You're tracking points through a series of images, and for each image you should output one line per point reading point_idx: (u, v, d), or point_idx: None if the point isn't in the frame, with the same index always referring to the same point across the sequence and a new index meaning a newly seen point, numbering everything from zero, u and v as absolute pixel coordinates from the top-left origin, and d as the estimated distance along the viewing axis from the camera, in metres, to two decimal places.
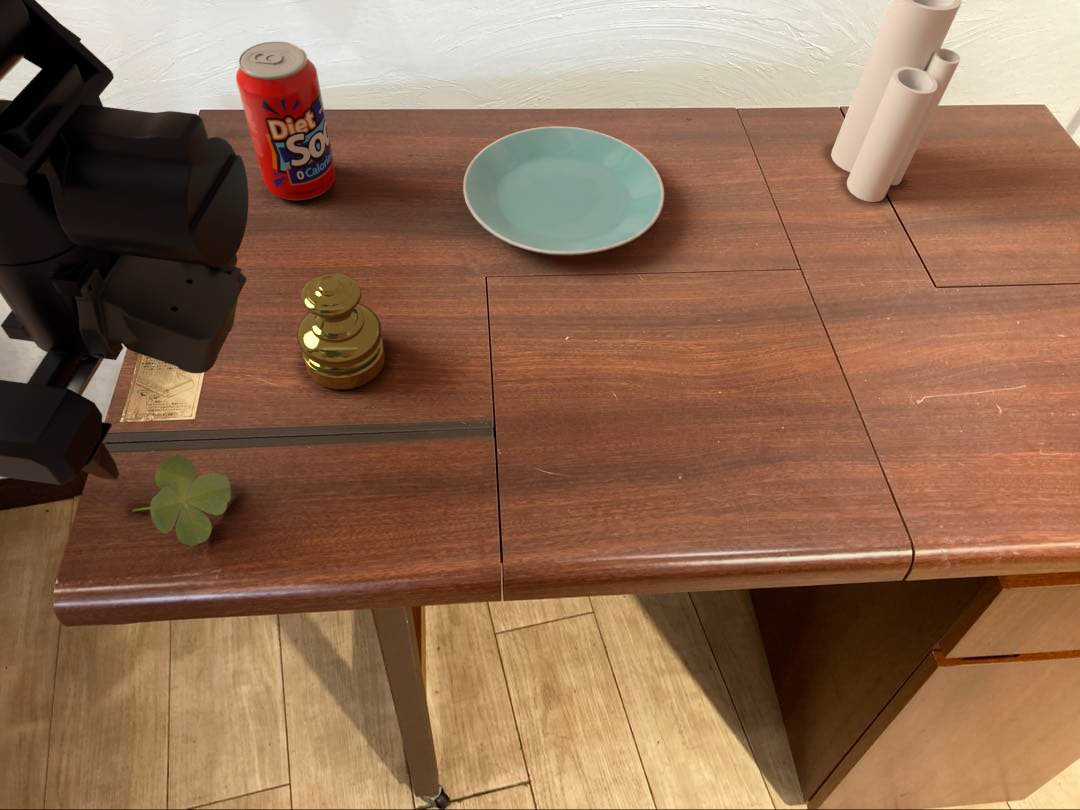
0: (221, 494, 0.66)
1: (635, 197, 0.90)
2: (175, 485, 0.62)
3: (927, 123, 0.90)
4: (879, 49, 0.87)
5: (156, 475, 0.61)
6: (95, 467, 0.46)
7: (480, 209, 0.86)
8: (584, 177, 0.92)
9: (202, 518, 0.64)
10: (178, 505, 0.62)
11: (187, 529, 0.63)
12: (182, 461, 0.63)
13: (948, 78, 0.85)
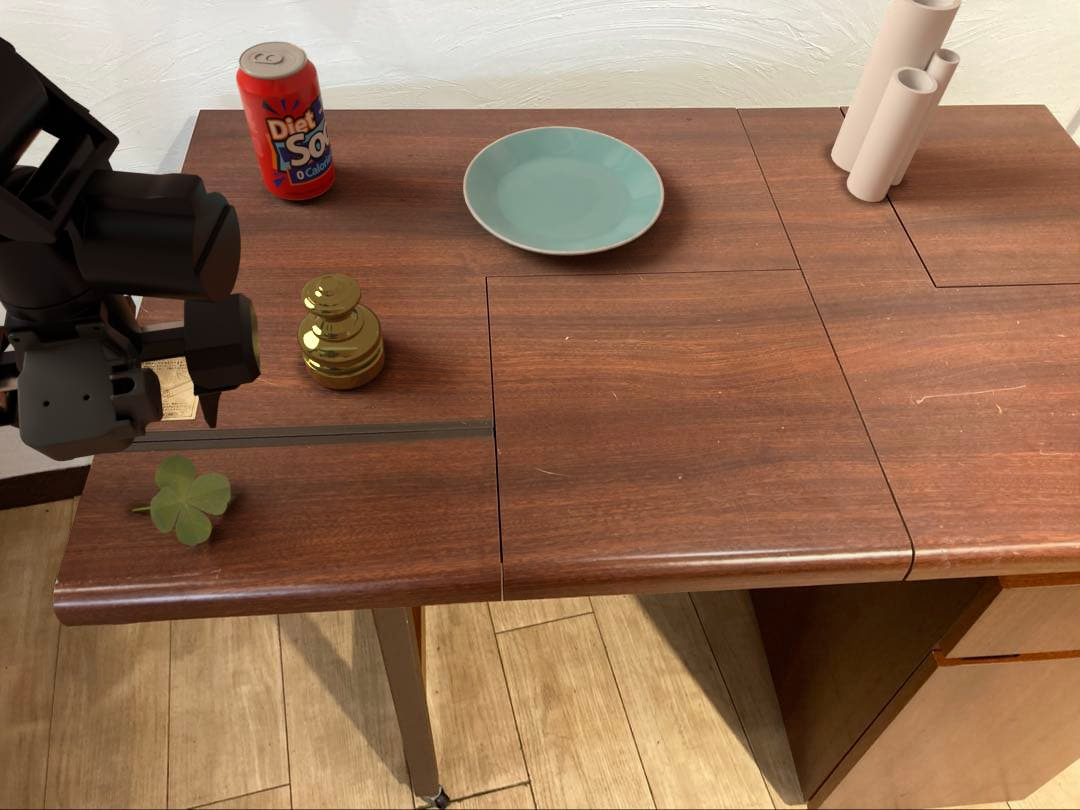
0: (221, 494, 0.66)
1: (635, 197, 0.90)
2: (175, 485, 0.62)
3: (927, 123, 0.90)
4: (879, 49, 0.87)
5: (156, 475, 0.61)
6: None
7: (480, 209, 0.86)
8: (584, 177, 0.92)
9: (202, 518, 0.64)
10: (178, 505, 0.62)
11: (187, 528, 0.63)
12: (182, 461, 0.63)
13: (948, 78, 0.85)
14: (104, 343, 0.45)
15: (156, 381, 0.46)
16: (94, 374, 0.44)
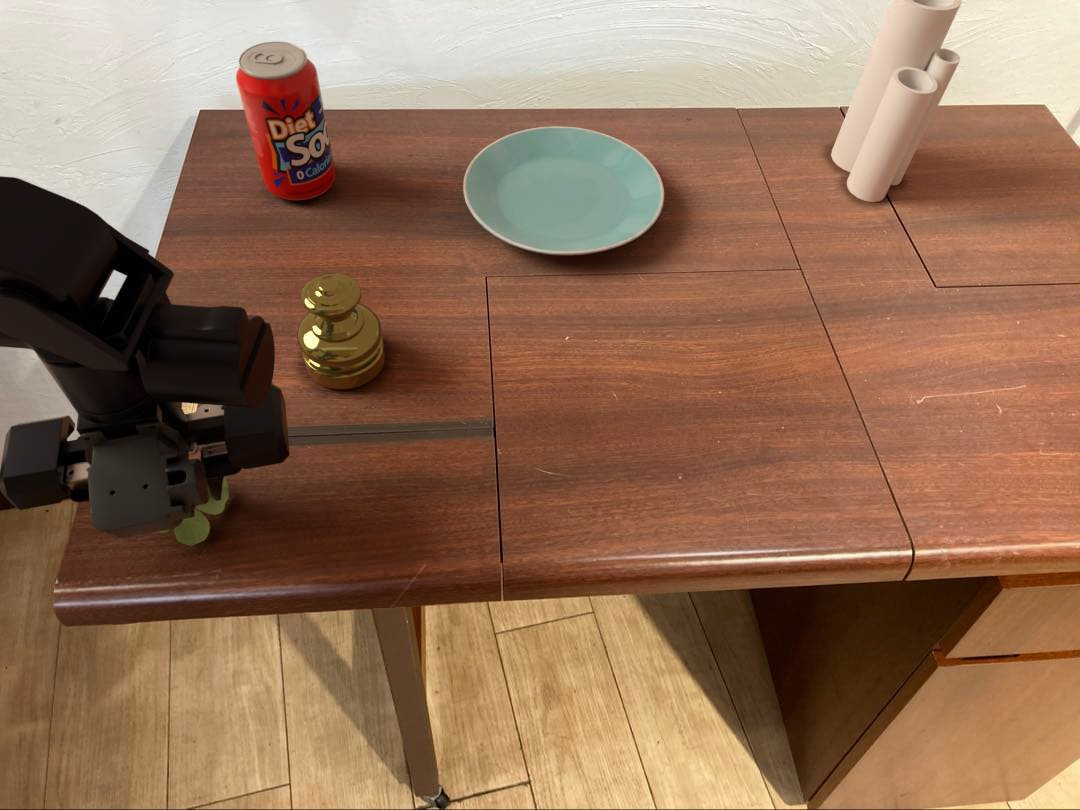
0: None
1: (635, 197, 0.90)
2: None
3: (927, 123, 0.90)
4: (879, 49, 0.87)
5: None
6: None
7: (480, 209, 0.86)
8: (584, 177, 0.92)
9: (200, 517, 0.64)
10: None
11: (186, 528, 0.63)
12: None
13: (948, 78, 0.85)
14: (159, 438, 0.53)
15: (202, 468, 0.54)
16: (151, 466, 0.52)
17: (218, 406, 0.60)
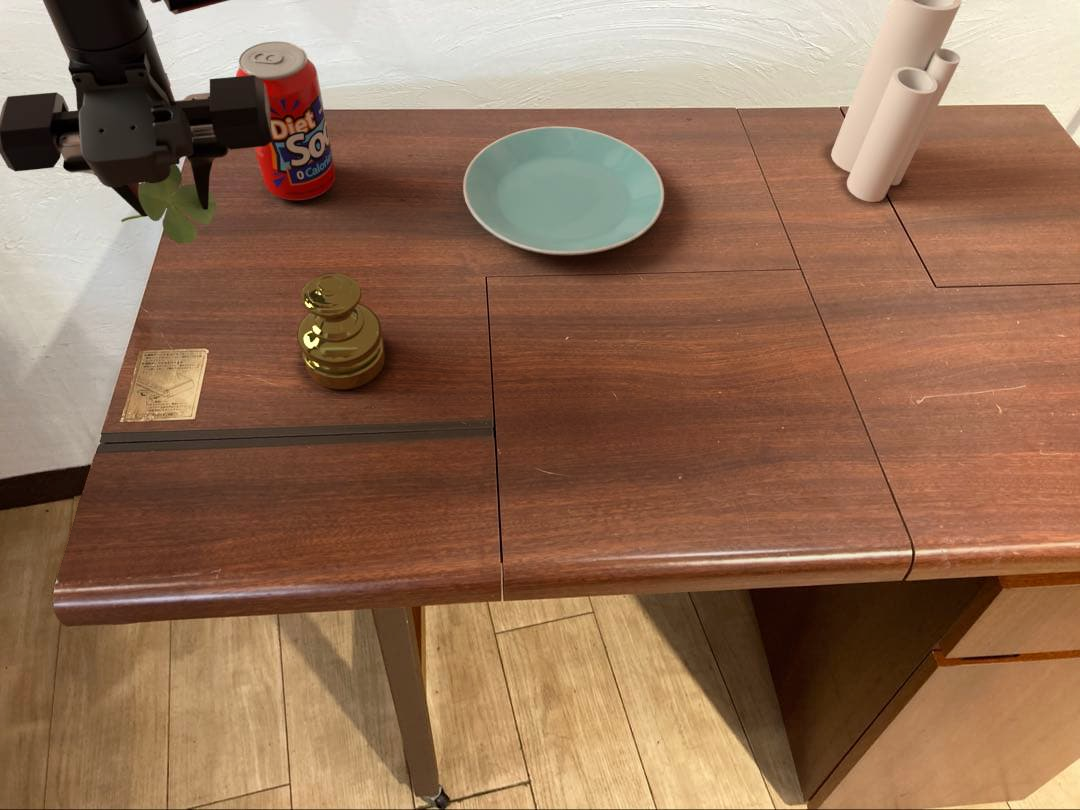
0: None
1: (635, 197, 0.90)
2: (161, 184, 0.65)
3: (927, 123, 0.90)
4: (879, 49, 0.87)
5: None
6: None
7: (480, 209, 0.86)
8: (584, 177, 0.92)
9: (188, 223, 0.67)
10: (165, 203, 0.65)
11: (174, 227, 0.66)
12: None
13: (948, 78, 0.85)
14: (147, 90, 0.56)
15: (188, 125, 0.57)
16: (139, 111, 0.55)
17: (205, 96, 0.63)
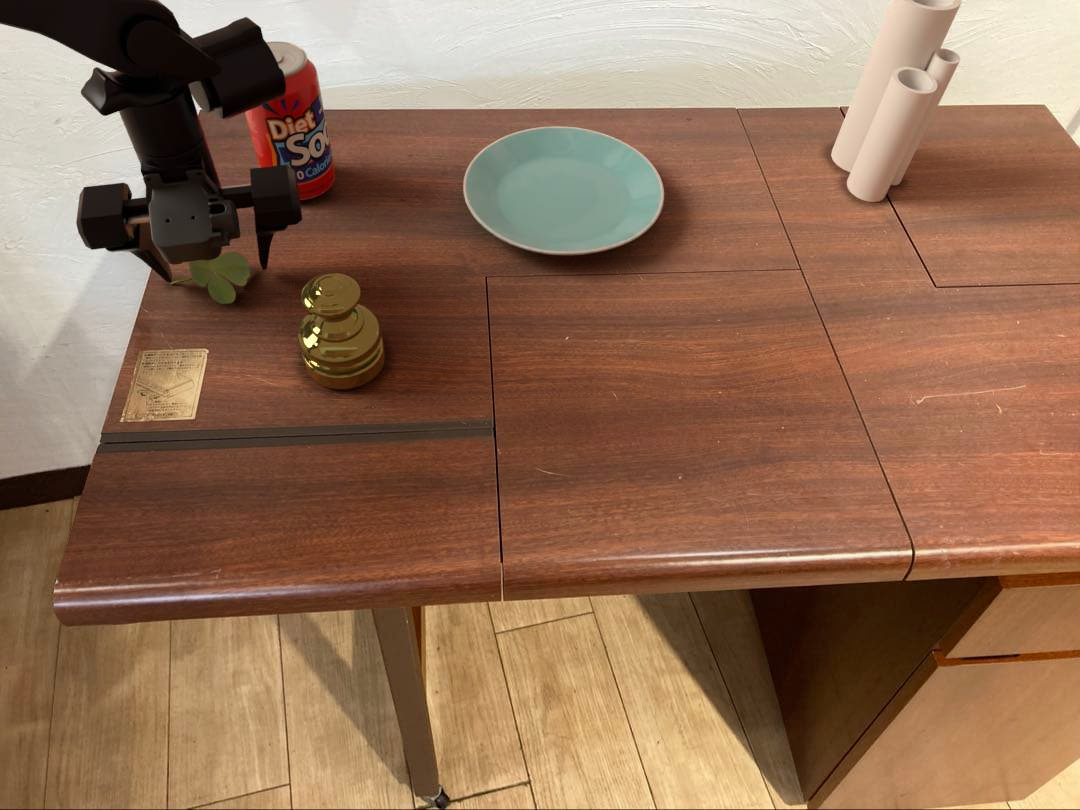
0: (242, 270, 0.81)
1: (635, 197, 0.90)
2: None
3: (927, 123, 0.90)
4: (879, 49, 0.87)
5: None
6: None
7: (480, 209, 0.86)
8: (584, 177, 0.92)
9: (228, 285, 0.80)
10: (209, 270, 0.78)
11: (217, 290, 0.78)
12: None
13: (948, 78, 0.85)
14: (203, 185, 0.68)
15: (236, 212, 0.69)
16: (197, 203, 0.68)
17: None
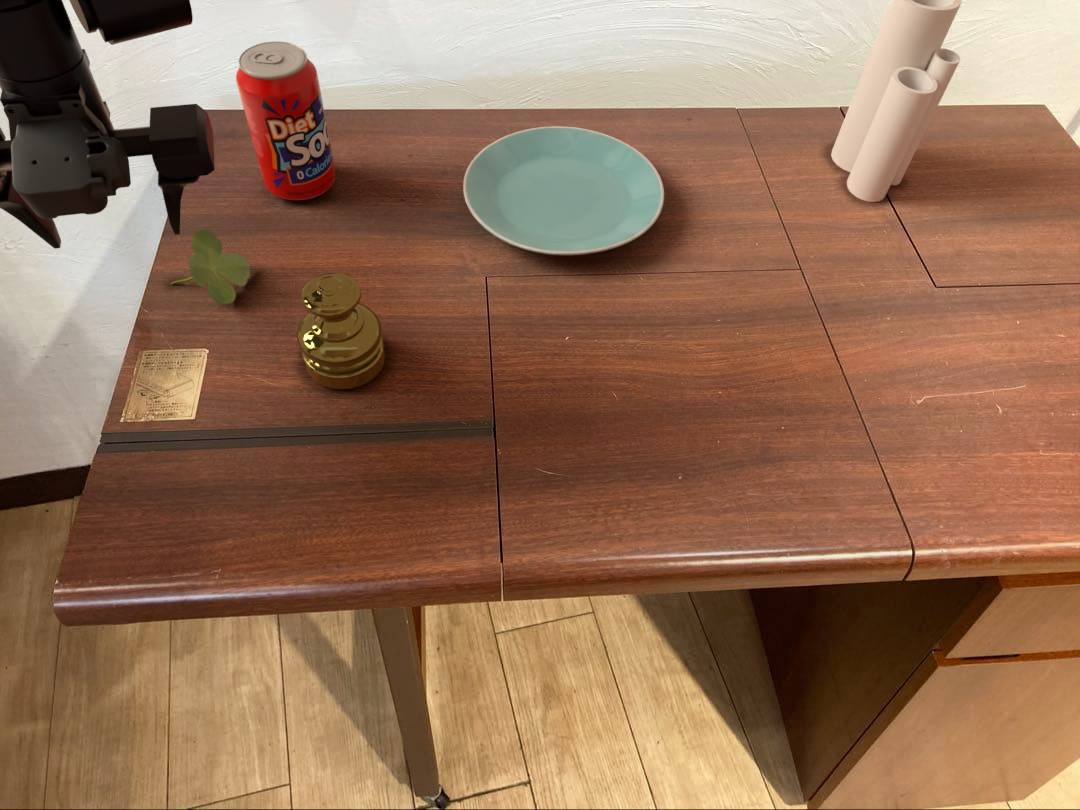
0: (242, 270, 0.81)
1: (635, 197, 0.90)
2: (206, 254, 0.78)
3: (927, 123, 0.90)
4: (879, 49, 0.87)
5: (192, 241, 0.76)
6: None
7: (480, 209, 0.86)
8: (584, 177, 0.92)
9: (227, 285, 0.80)
10: (209, 270, 0.78)
11: (217, 290, 0.78)
12: (211, 236, 0.78)
13: (948, 78, 0.85)
14: (82, 120, 0.55)
15: (125, 155, 0.56)
16: (74, 142, 0.54)
17: None
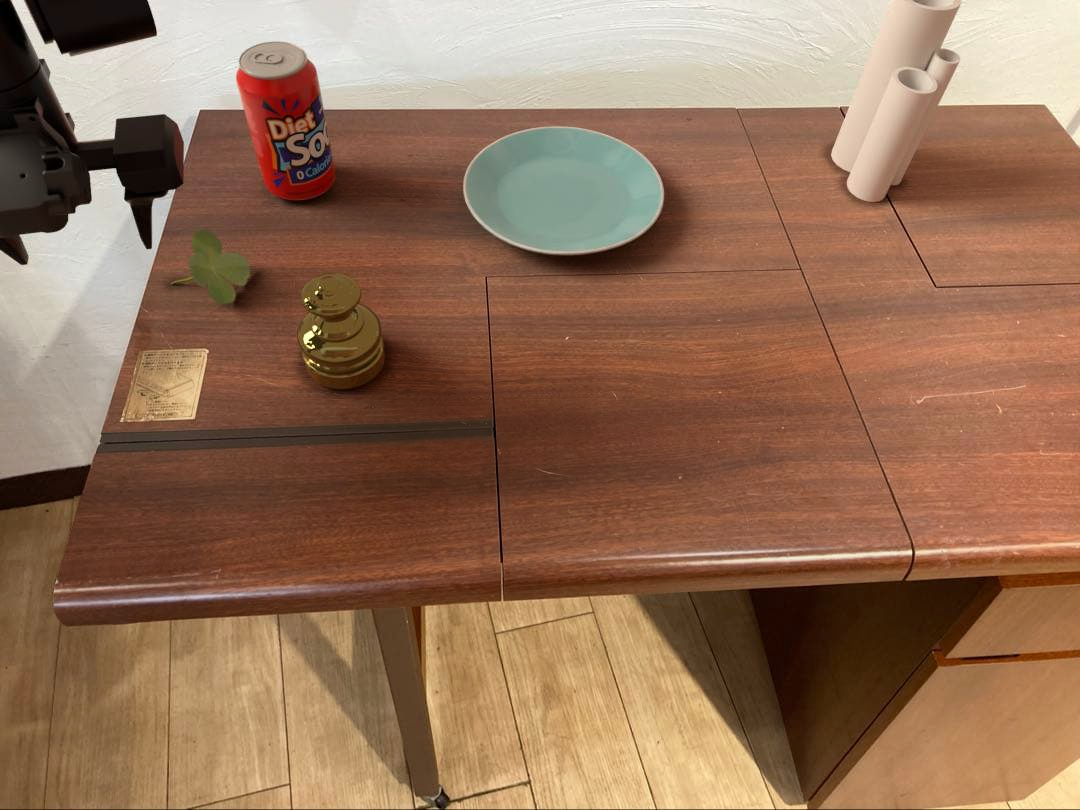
0: (242, 270, 0.81)
1: (635, 197, 0.90)
2: (206, 254, 0.78)
3: (927, 123, 0.90)
4: (879, 49, 0.87)
5: (192, 241, 0.76)
6: None
7: (480, 209, 0.86)
8: (584, 177, 0.92)
9: (227, 285, 0.80)
10: (209, 270, 0.78)
11: (217, 290, 0.78)
12: (211, 236, 0.78)
13: (948, 78, 0.85)
14: (40, 134, 0.53)
15: (85, 171, 0.53)
16: (30, 158, 0.52)
17: None
